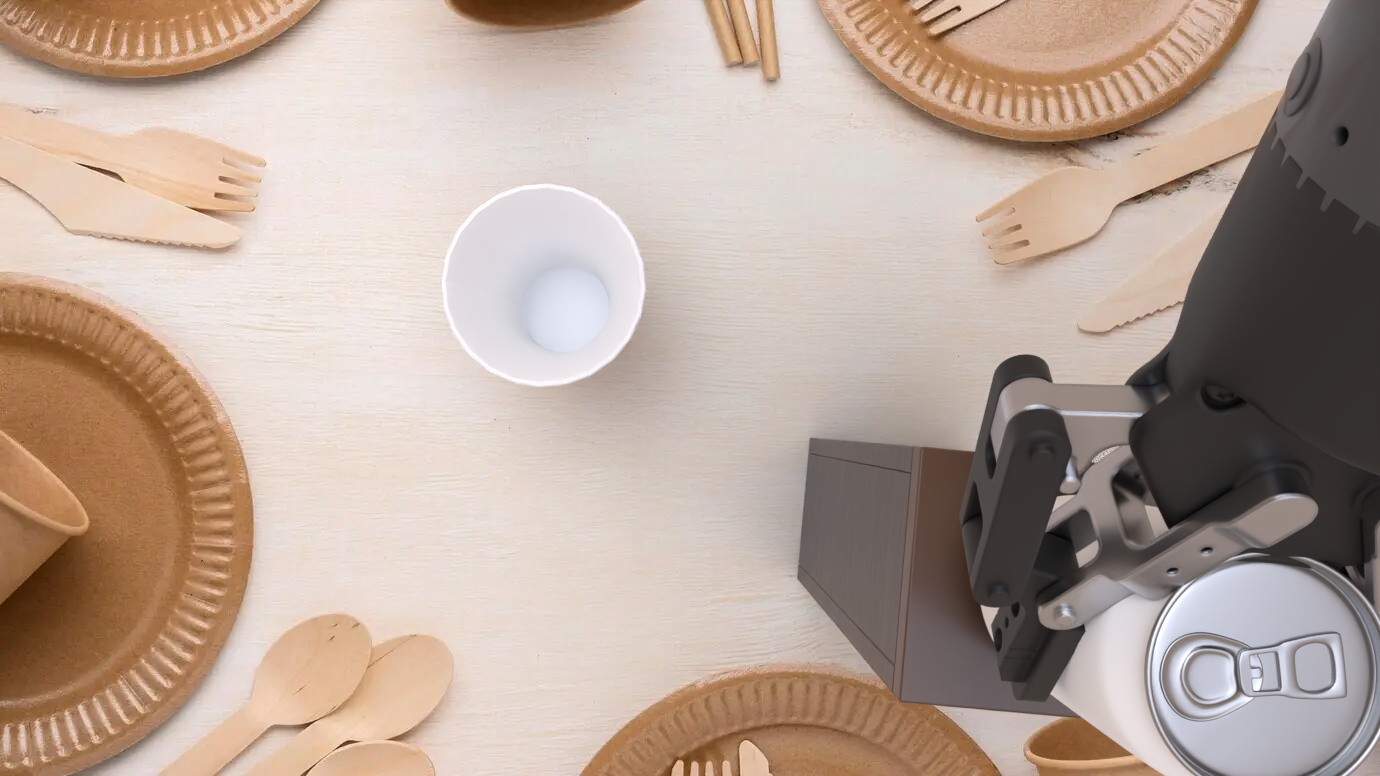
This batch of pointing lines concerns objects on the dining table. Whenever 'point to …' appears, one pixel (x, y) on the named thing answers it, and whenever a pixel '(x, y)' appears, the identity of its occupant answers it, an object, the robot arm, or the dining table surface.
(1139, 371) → the robot arm
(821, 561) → the shelf frame
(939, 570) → the shelf
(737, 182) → the dining table surface
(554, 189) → the cup
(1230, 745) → the can
